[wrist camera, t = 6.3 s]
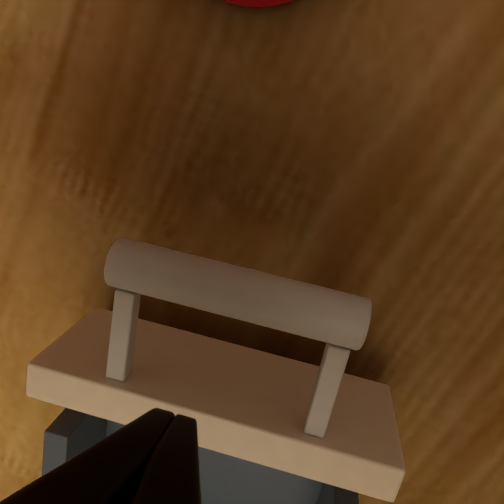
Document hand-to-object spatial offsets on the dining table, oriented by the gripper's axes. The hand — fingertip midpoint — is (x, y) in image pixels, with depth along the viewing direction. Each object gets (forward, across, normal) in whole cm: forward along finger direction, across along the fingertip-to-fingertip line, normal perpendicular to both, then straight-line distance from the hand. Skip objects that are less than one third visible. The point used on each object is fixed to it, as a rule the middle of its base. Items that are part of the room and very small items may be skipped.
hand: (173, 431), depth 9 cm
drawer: (+8, 0, +7) cm, 10 cm away
